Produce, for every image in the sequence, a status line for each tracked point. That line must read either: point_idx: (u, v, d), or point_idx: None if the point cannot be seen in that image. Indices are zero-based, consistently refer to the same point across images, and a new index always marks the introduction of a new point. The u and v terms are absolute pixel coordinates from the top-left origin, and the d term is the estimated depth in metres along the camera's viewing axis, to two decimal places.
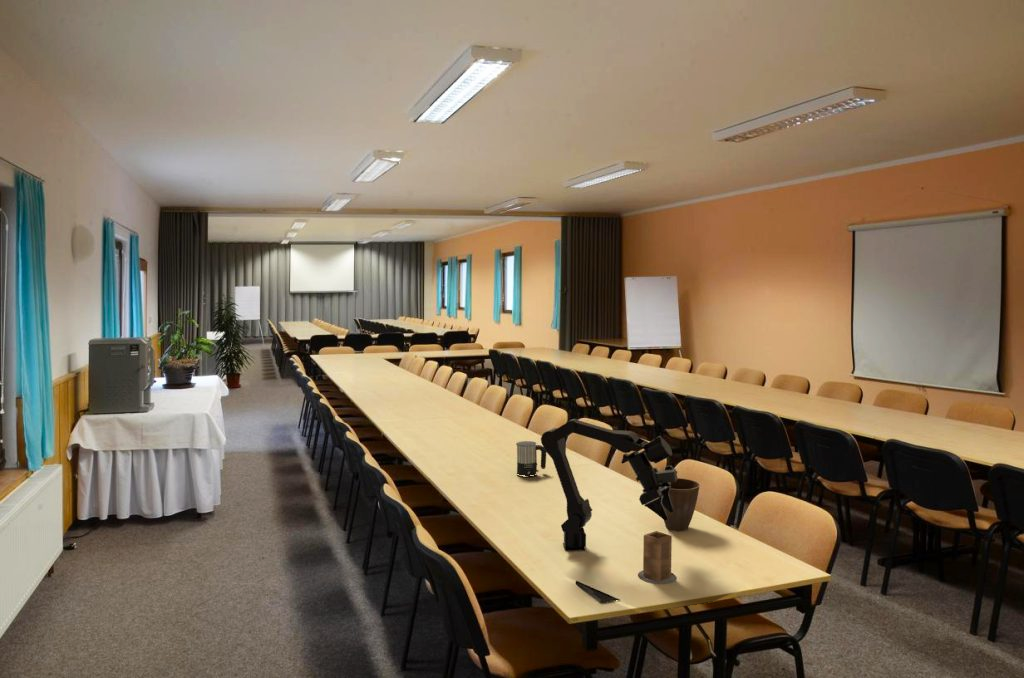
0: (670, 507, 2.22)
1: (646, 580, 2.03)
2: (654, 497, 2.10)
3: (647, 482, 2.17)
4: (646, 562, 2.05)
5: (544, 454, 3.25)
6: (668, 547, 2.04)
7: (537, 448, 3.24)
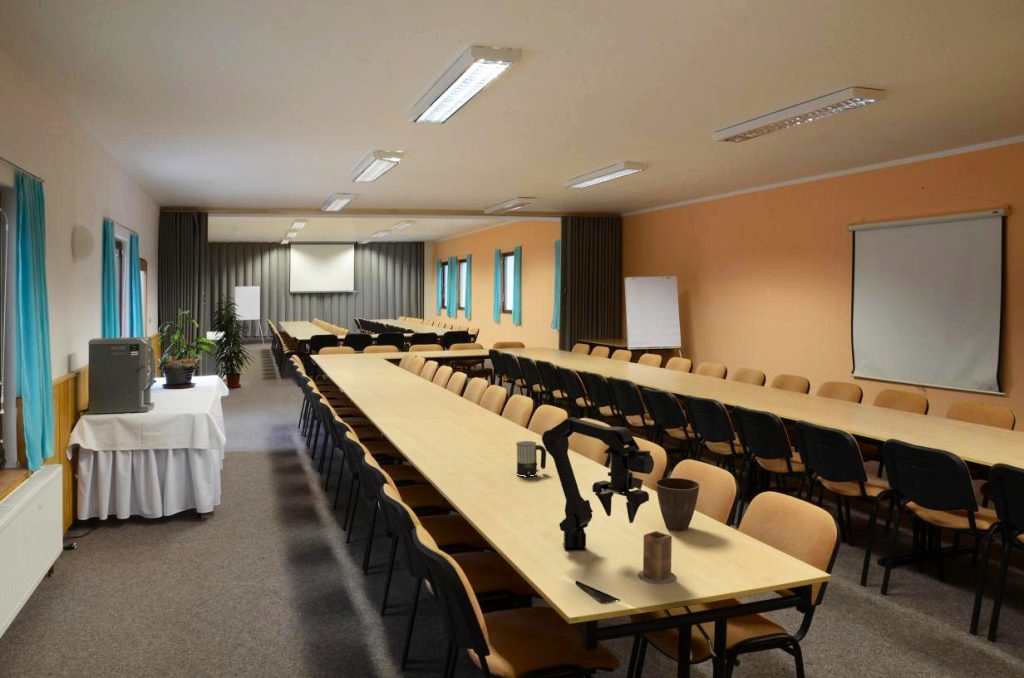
0: (610, 511, 2.23)
1: (646, 580, 2.03)
2: (646, 499, 2.13)
3: (626, 482, 2.17)
4: (646, 562, 2.05)
5: (544, 454, 3.25)
6: (668, 547, 2.04)
7: (537, 448, 3.24)
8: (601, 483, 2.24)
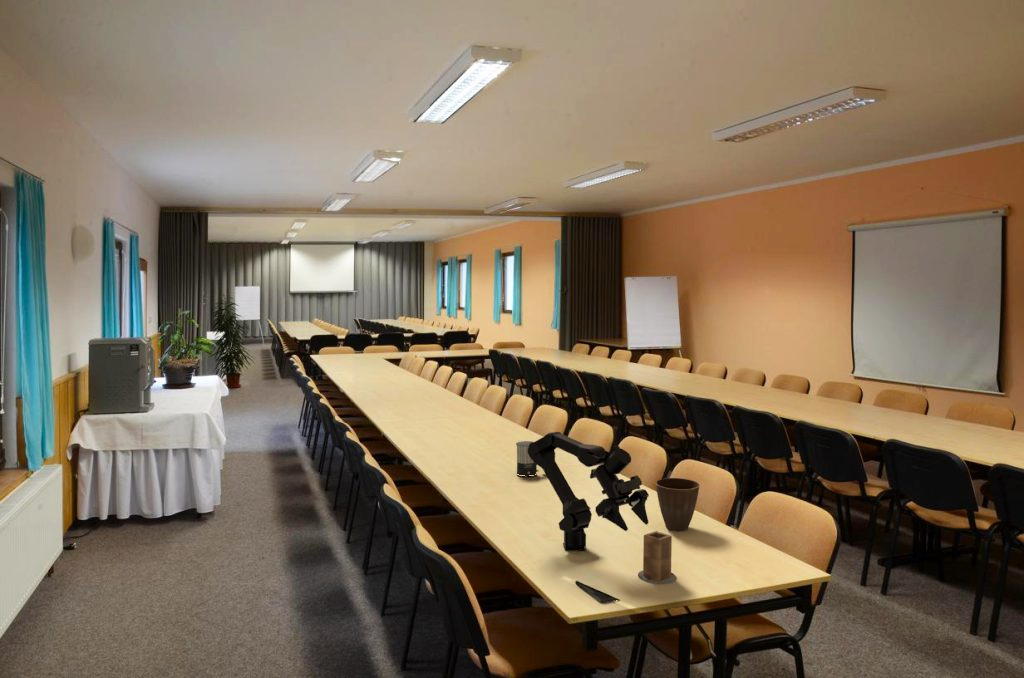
0: (644, 519, 2.14)
1: (646, 580, 2.03)
2: (604, 507, 2.08)
3: (609, 494, 2.15)
4: (646, 562, 2.05)
5: None
6: (668, 547, 2.04)
7: None
8: None
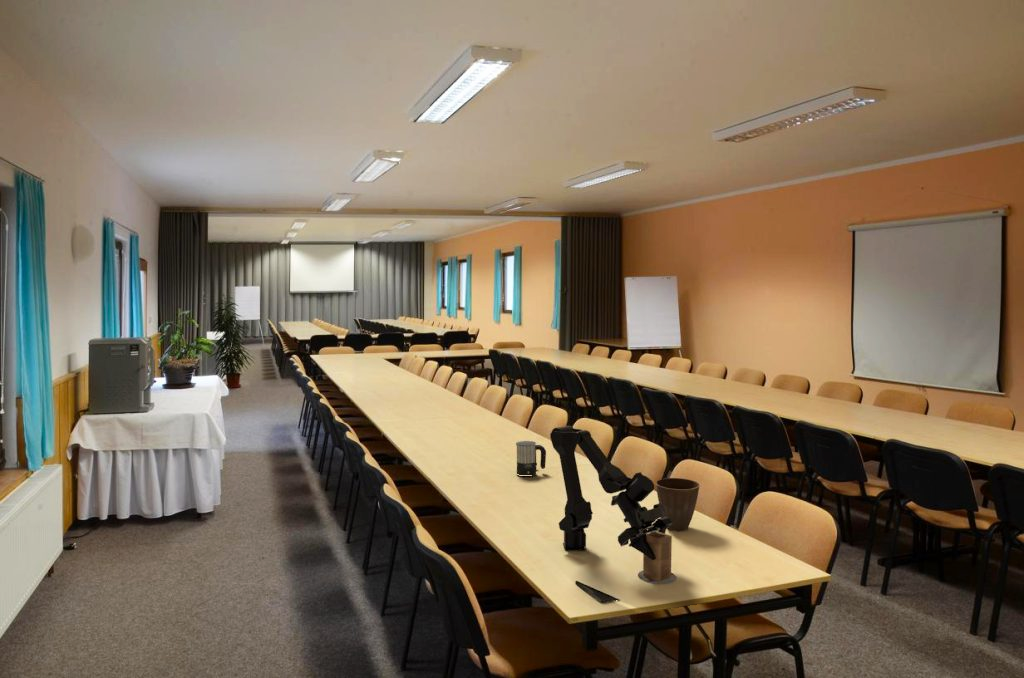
0: None
1: (646, 580, 2.03)
2: (627, 537, 2.01)
3: (632, 522, 2.09)
4: (646, 562, 2.05)
5: (544, 454, 3.25)
6: (668, 547, 2.04)
7: (537, 448, 3.24)
8: None
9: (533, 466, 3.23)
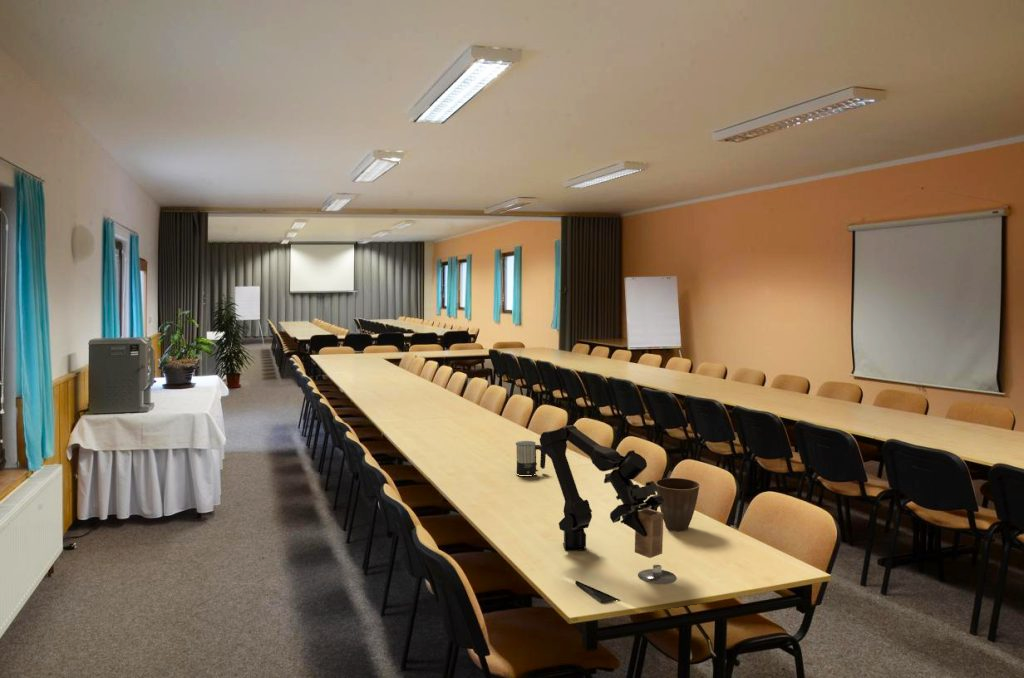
0: None
1: (646, 580, 2.03)
2: (619, 513, 2.03)
3: (624, 499, 2.10)
4: (638, 539, 2.07)
5: (543, 454, 3.25)
6: (660, 524, 2.06)
7: (536, 448, 3.24)
8: None
9: (533, 466, 3.23)
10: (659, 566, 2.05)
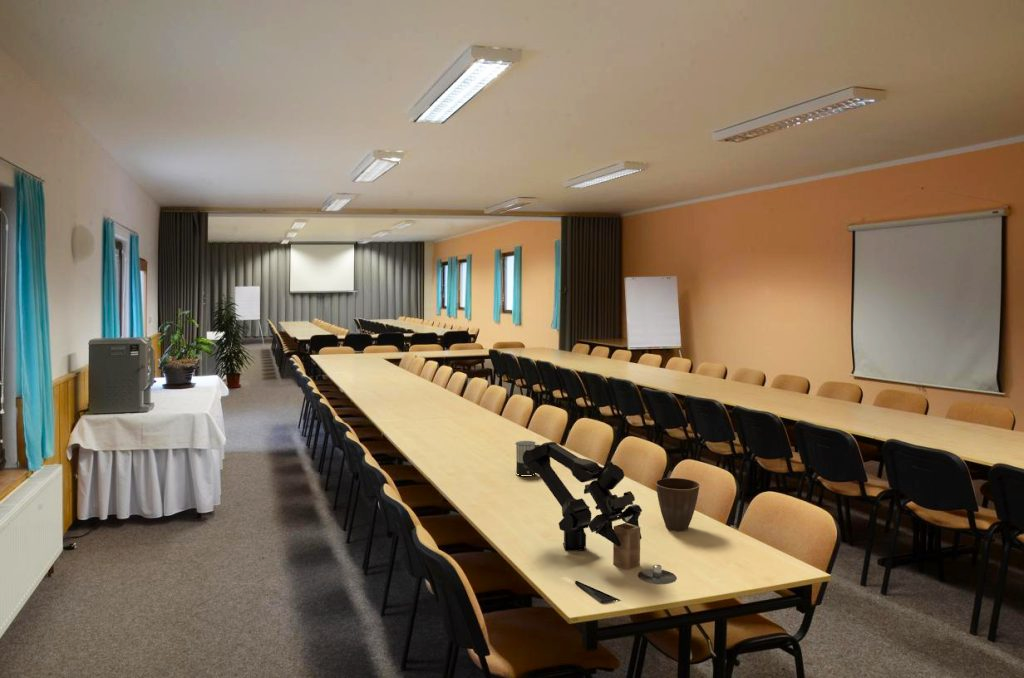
0: None
1: (646, 580, 2.03)
2: (598, 523, 2.10)
3: (602, 509, 2.17)
4: (616, 553, 2.14)
5: None
6: (637, 537, 2.13)
7: None
8: None
9: None
10: (659, 566, 2.05)
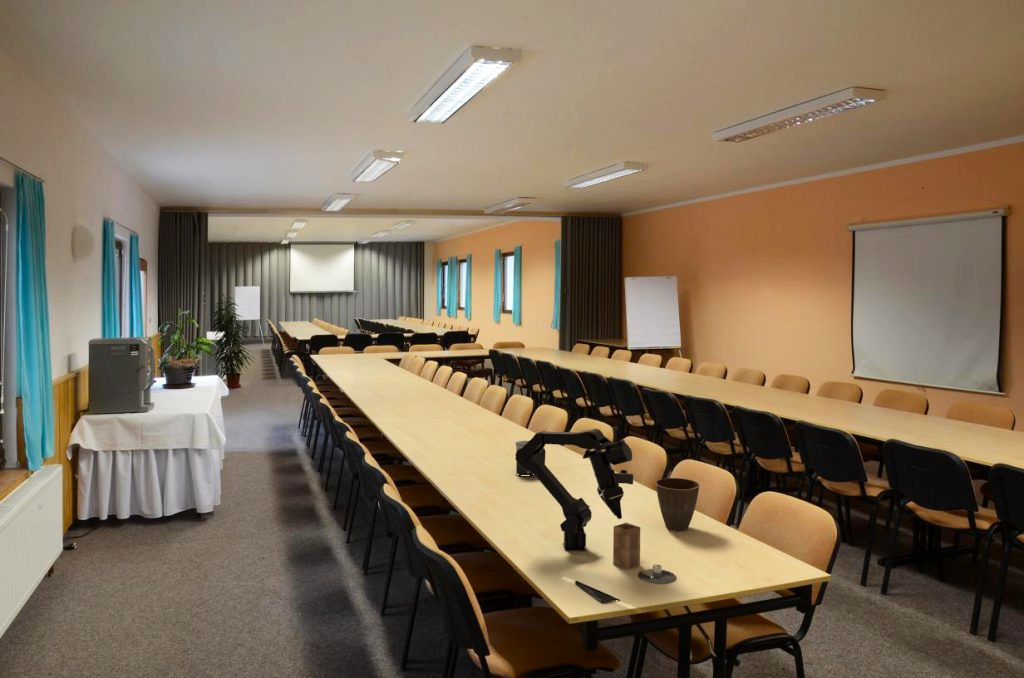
0: None
1: (646, 580, 2.03)
2: (618, 493, 2.15)
3: (606, 480, 2.22)
4: (616, 553, 2.14)
5: (543, 454, 3.26)
6: (637, 537, 2.13)
7: None
8: None
9: None
10: (659, 566, 2.05)
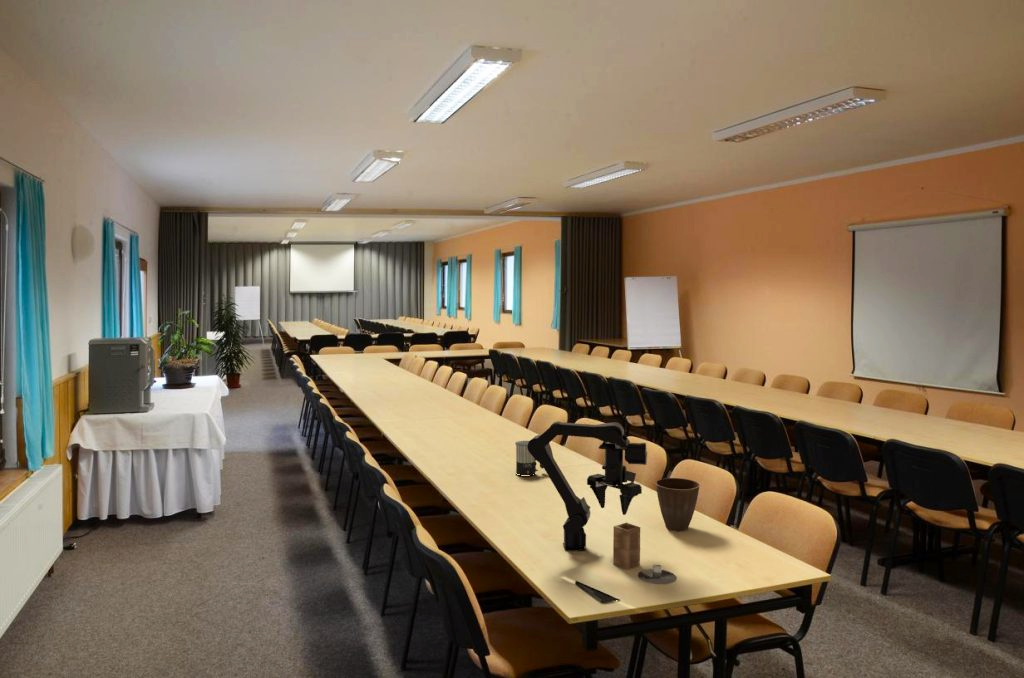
0: (603, 503, 2.31)
1: (646, 580, 2.03)
2: (639, 492, 2.21)
3: (620, 475, 2.25)
4: (616, 553, 2.14)
5: None
6: (637, 537, 2.13)
7: None
8: (595, 476, 2.32)
9: (532, 466, 3.23)
10: (659, 566, 2.05)
